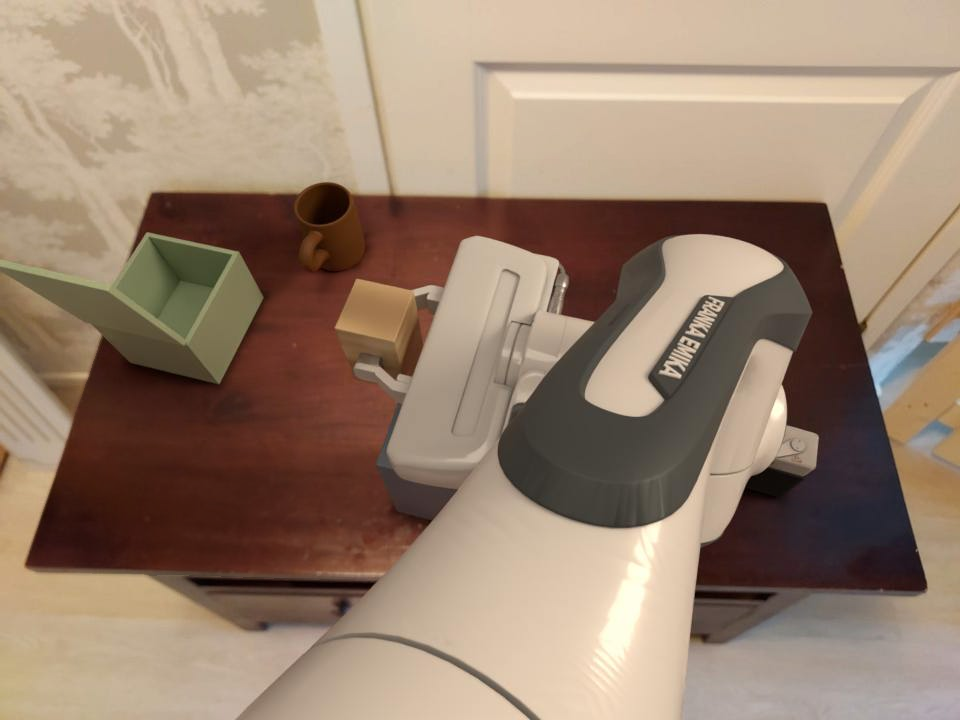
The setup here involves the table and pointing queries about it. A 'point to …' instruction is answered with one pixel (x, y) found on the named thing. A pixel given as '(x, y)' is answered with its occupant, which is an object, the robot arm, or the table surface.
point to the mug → (328, 228)
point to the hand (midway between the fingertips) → (370, 332)
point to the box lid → (91, 301)
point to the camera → (788, 464)
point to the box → (187, 305)
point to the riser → (410, 486)
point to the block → (381, 327)
